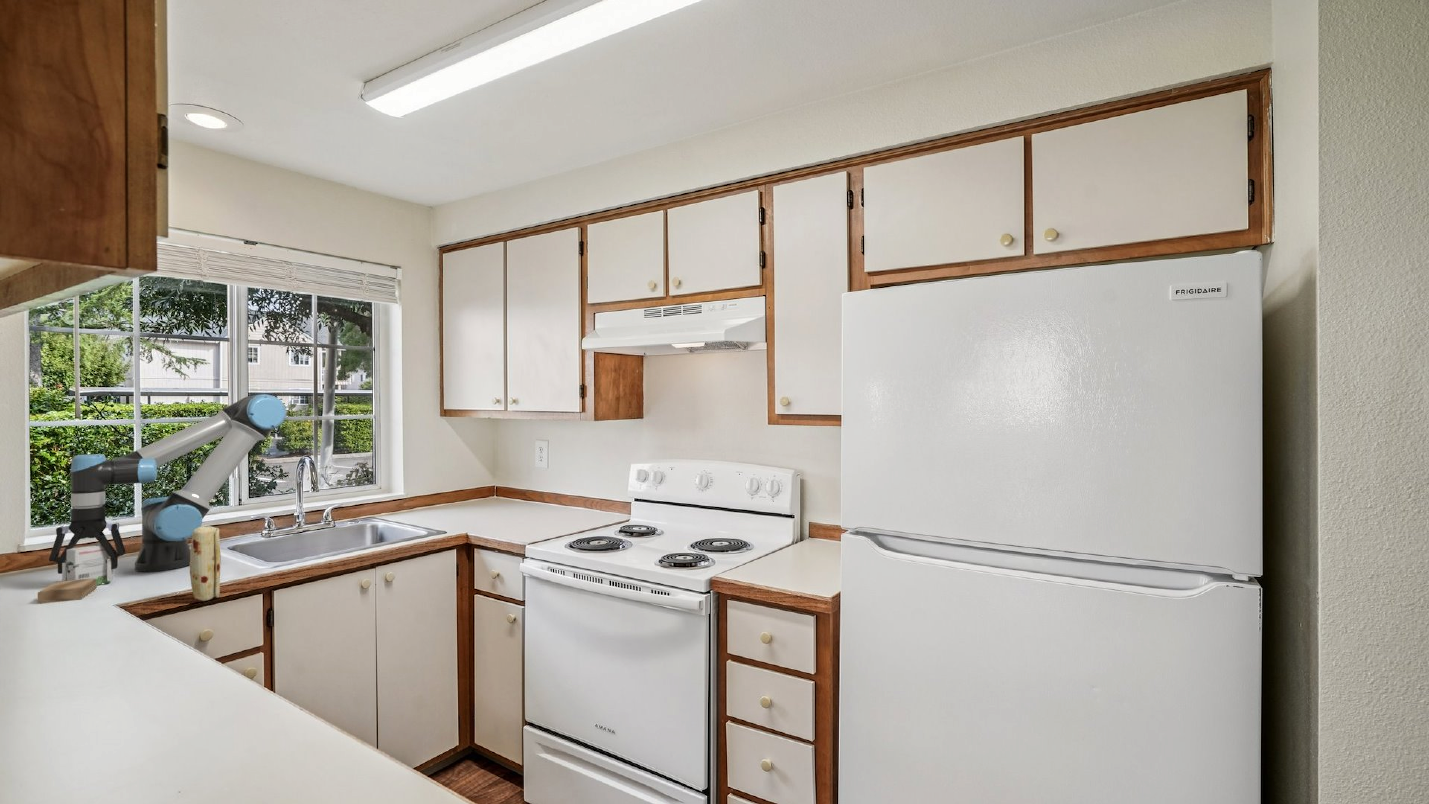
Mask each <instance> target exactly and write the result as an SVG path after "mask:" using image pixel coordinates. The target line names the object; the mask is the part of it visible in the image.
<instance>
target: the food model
mask: <svg viewBox="0 0 1429 804" xmlns="http://www.w3.org/2000/svg"><path fill="white" fill-rule="evenodd" d="M190 541H191V542H190V543H191V545H190V550H191V551H190V565H189V576H190V585H191V590H192V598H193V600H194V602H195V603H196V602H197V603H200V602H205V601H209V600H212V599H214V597H215V598H219V597H220V589H221V588H220V586H221V584H220V583H221V564H222V561H221V560H222V558H221V557H222V554H221V540H220V528H219V527H215V526H211V525H207V526H201V527H199V528H196V529H195V530H194V531H193V534H192V537H191V540H190Z"/></svg>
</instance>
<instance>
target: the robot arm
mask: <svg viewBox="0 0 1429 804" xmlns="http://www.w3.org/2000/svg"><path fill="white" fill-rule="evenodd" d="M217 412H218V413H216V414H215V415H214V416H211V417H208V418H207V419H204V420H202V421H200V422H197V423H196V424H193V425H190V426H189V427H186V428H184V429H182V430H179V431H178V432H175V433H172V434H170V435H168V436H165V437H163V438H160V439H159V440H157V441H154V442H153V443H150V444H148V445H146V446H143V447H141V448H139V449H137V450H135V451H133V452H130V453H127V454H125V455H123V456H118V457H116V458H113V459H112V460H111V459H107V458H106V455H105V454H102V453H97V454H89V453H88V454H78V455H74V456H73V457H72V459H71V465H70V466H71V468H70V506H71V507H72V508H71V509H70V523H69V525H66V526H63V525H62V526H59V527H56V529H55V533H56V537H55V539H54V543H53V546H52V549H51V552H50V555H49V558H48V561H49V562H53V563H56V564H57V574H59V575H61V581H66V556H67V550H68V549H72V548H76V547H75V546H76V545H77V543H78V542H79V541H80V540H82V539H83V540H84V539H96V540H97V541H98V542H99V544H101V545H102V546H103V548H104V549H105V551H106V552H107V553H108V555H109V559H107V581H110V582H111V581H112V580H114V570H116V569H117V568H118V565H119V563H118V561H119V560H118V558H119V557H122V556H124V555H126V548H125V546H124V545H125V544H124V542H123V540H122V537H121V533H120V530H119V529H120V522H115V523H108V522H107V521H106V506H104V505H106V486H113V485H115V486H117V485H129V484H130V485H132V484H145V483H147V484H148V483H153V482H154V481H156V479H157V475H158V467H160V466H162V465H164V464H166V463H169V462H171V461H173V460H175V459H177V458H180V457H181V456H184V455H185V454H188V453H191V452H193V451H194V450H196V449H199V448H201V447H203V446H205V445H208V444H210V443H212V442H214V441H217V440H218V439H221V438H222V439H221V440H220V442H219V443H218V444H217V445H216V447H215V448H214V449H213V450H212V452H210V454H209V455H208V456H207V458H206V459H204V461H203V462H202V464H201V465H200V466H199V467H198V469H197V470H196V471H195V473H194V474H192V476H190V477H191V478H190V479H189V480H188V481H187V482H186V483H185V485H184V486H183V487H182V488H181V489H179V490H174V491H172V492H171V493H170V494H169V495H168V496H164V497H153V498H152V497H151V498H146V499H144V500H143V501H142V505H141V507H140V508H141V547H140V549H139V552H138V555H137V557H136V560H135V562H134V570H135V571H136V570H137V571H136V572H144V571H147V572H160V571H161V570H162V571H168V570H167V569H170V570H173V569H172V568H176V569H181V568H185V567H187V566H186V565H189V566H190V551H191V546H190V545H189V542H188V540H189V538H192V534H193V531H194V530H195V529H196V528H199V527H202V524H203V519H204V518H205V516H206V515H207V514H208V513H209V511H210V510H211V507H210V502H211V500H212V499H213V498H214V497H215V496H216V494H217V493H218V491H219V490H220V489H221V488H222V486H223V485H224V484H225V483H226V481H227V480H228V479H229V477H231V475H232V474H233V472H234V471H235V470H236V468H237V467H238V466H239V465H240V463H241V462H242V461H243V460H244V459H245V458H246V456H247V455H248V453H249V452H250V451H251V450H252V448H253V447H254V446H255V445H256V444H257V442H259V441H262V440H263V441H265V439H266V438H267V437H268V436H269V435H270V433H271V432H272V431H273V430H274V429H275V428H277V427H279V426H281V425H282V424H283V423H284V421H285V419H286V417H287V410H286V406H285V403H283V402H282V400H280V399H279V398H278V397H276V396H273V395H270V394H265V393H263V394H255V395H254V394H253V395H249V396H245V397H243V398H241V399H239V400H238V401H236V402H234V403H232V404H230V405H228V406H226V407H224V408H222V409H220V410H218V411H217ZM106 529H108V531H110V534H111V537H112V541H113V543H114V547H115V548H114V547H113V545H112V544H111V542H110V541H109V540H108V539H107V537H106V534H105V533H104V532H103V531H104V530H106ZM68 531H70V532H71V533H72V534H73V536H72V537H71V539H70V541H69V542H68V544H67V545H66V546H65V548H64V550H63V552H62V553H61V554H60V552H61V549H62V546H63V543H64V540H65V536H66V534H67V533H68ZM184 566H185V567H184ZM180 567H181V568H180Z"/></svg>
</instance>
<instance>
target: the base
mask: <svg viewBox="0 0 1429 804" xmlns="http://www.w3.org/2000/svg"><path fill="white" fill-rule="evenodd" d="M97 586H98V585H97V579H95V578H92V579H81V580H70V581H62V580H61V581H55V582H54V583H52V584H50V585H48V586H46V587H45V588H43V589H42V590H39V591H38V592H37V604H38V605H39V604H48V603H49V604H50V603H57V602H58V603H60V602H69V601H76V600H82V598H83V599H84V598H86V597H87V596H89V595H90V594H92V593H93V592H95V591H96V590H97V589H96V588H98V587H97ZM95 589H96V590H95ZM94 590H95V591H94ZM92 591H93V592H92ZM91 592H92V593H91ZM88 594H89V595H88ZM85 596H86V597H85Z"/></svg>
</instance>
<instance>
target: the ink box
mask: <svg viewBox="0 0 1429 804" xmlns="http://www.w3.org/2000/svg"><path fill="white" fill-rule="evenodd" d="M109 558H110V556H109V555H108V553H107V552H106V551H105V549H104V548H103V546H102V545H101V544H100V543H96V544H90V545H86V546H85V545H84V546H80V547H74V548H72V549H68V550H67V556H66V560H65V562H66V581H70V580H81V579H92V578H95V579H97V586H100V585H99V584H101V585H103V584H102V583H106V584H108V583H109V582H110V583H111V581H107V559H109ZM110 583H109V584H110Z"/></svg>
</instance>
